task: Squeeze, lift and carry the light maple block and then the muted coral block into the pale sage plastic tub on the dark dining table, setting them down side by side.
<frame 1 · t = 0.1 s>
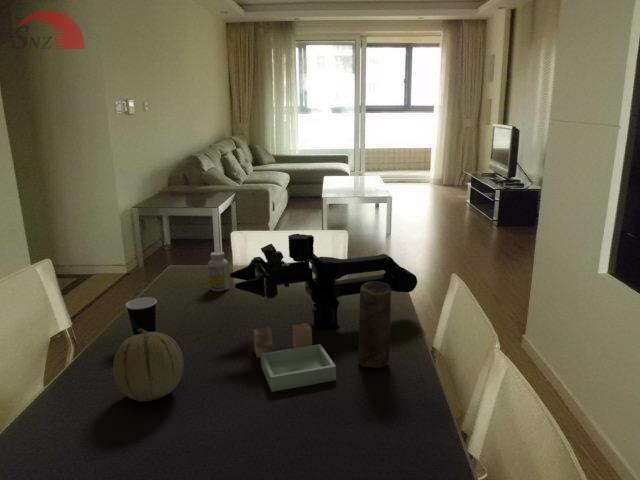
hand: (232, 280, 136), 17 cm above the table, tool horizontal, fingers open, 9 cm apart
sage tub: (297, 373, 121), on the table
supplement bottle: (220, 289, 179), on the table
maple block: (263, 353, 132), on the table
candle: (374, 365, 124), on the table
cantaloupe: (152, 396, 113), on the table
coral block: (302, 348, 133), on the table
dixie cup: (145, 341, 140), on the table
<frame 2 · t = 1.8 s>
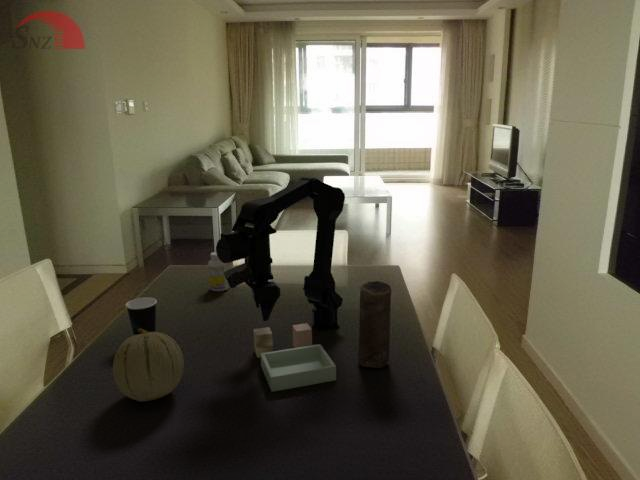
hand: (261, 313, 129), 11 cm above the table, tool pointing down, fingers open, 9 cm apart
nothing on the table moved.
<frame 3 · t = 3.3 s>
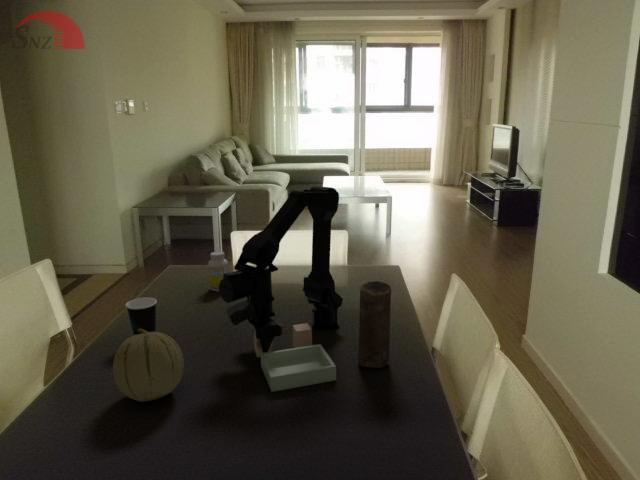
hand: (263, 349, 131), 1 cm above the table, tool pointing down, fingers closed on maple block, 4 cm apart
maple block: (263, 352, 132), on the table, touching gripper
everything else where it was.
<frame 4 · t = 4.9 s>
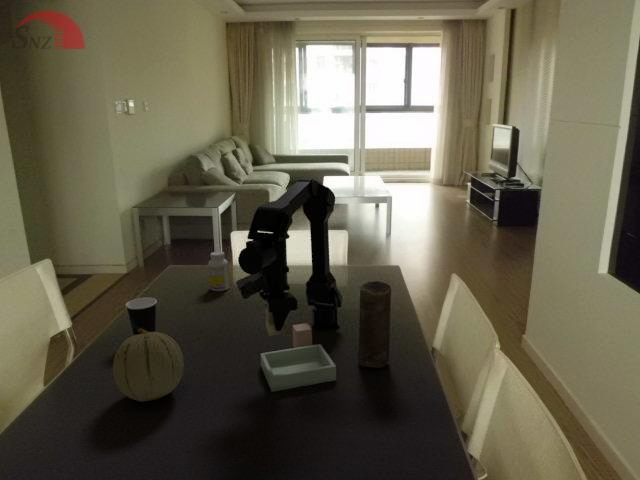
hand: (276, 327, 119), 11 cm above the table, tool pointing down, fingers closed on maple block, 4 cm apart
maple block: (276, 331, 119), point 10 cm above the table, touching gripper
everything else where it was.
when the fingers open (4 cm above the table, at t = 6.6 s): maple block drops 3 cm, resting on sage tub.
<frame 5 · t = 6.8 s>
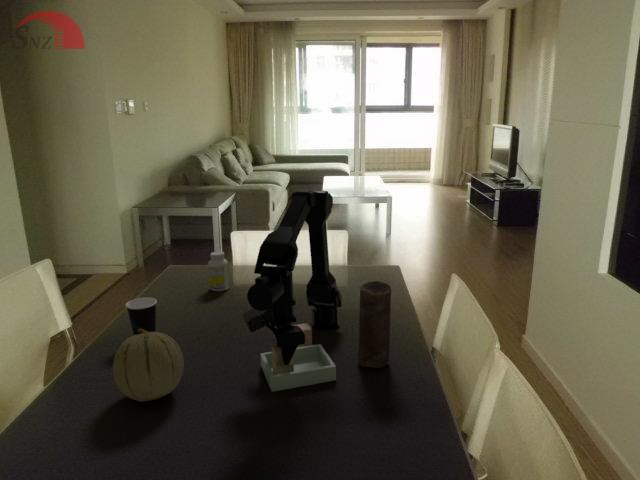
hand: (283, 357, 119), 4 cm above the table, tool pointing down, fingers open, 6 cm apart
maple block: (283, 372, 120), point 1 cm above the table, touching sage tub
everything else where it was.
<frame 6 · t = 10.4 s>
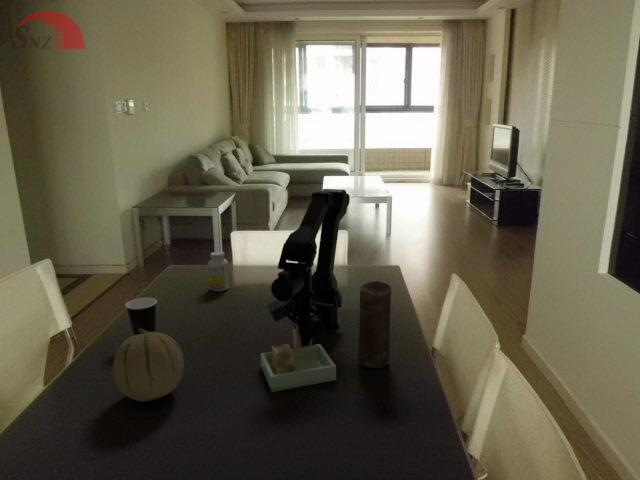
hand: (302, 344, 133), 1 cm above the table, tool pointing down, fingers closed on coral block, 4 cm apart
coral block: (302, 348, 133), on the table, touching gripper
everything else where it was.
when the fingers open (4 cm above the table, at t = 13.5 s): coral block drops 3 cm, resting on sage tub.
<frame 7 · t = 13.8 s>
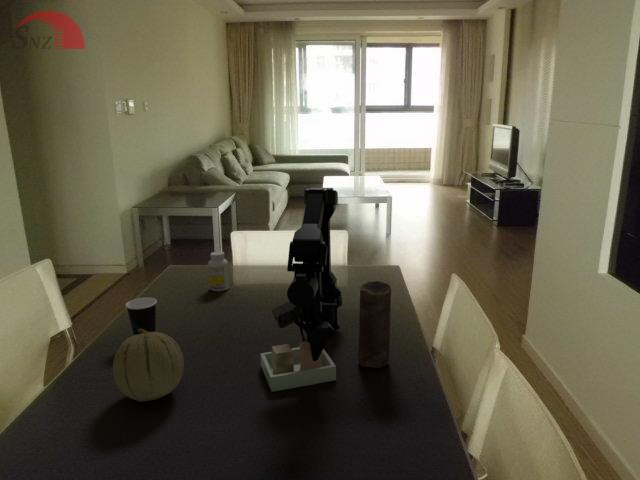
hand: (310, 353, 121), 4 cm above the table, tool pointing down, fingers open, 7 cm apart
coral block: (310, 367, 122), point 1 cm above the table, touching sage tub
everything else where it was.
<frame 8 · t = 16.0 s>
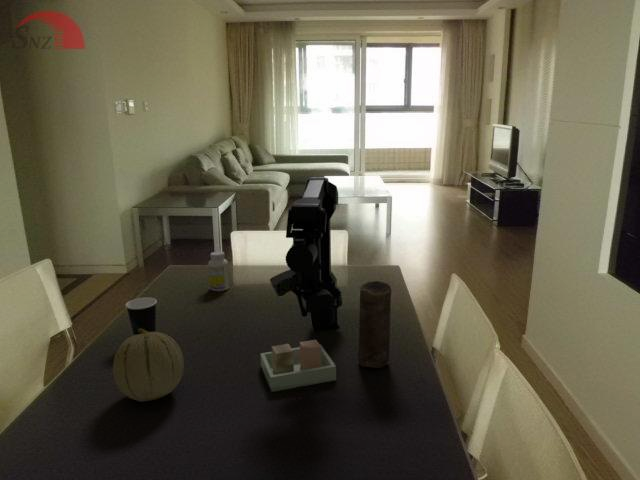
hand: (309, 323, 119), 12 cm above the table, tool pointing down, fingers open, 9 cm apart
nothing on the table moved.
at the end: maple block inside the target area on the sage tub (3.4 cm from its centre), point 0.8 cm above the sage tub's base; coral block inside the target area on the sage tub (3.2 cm from its centre), point 0.8 cm above the sage tub's base; the gripper is holding nothing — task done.
